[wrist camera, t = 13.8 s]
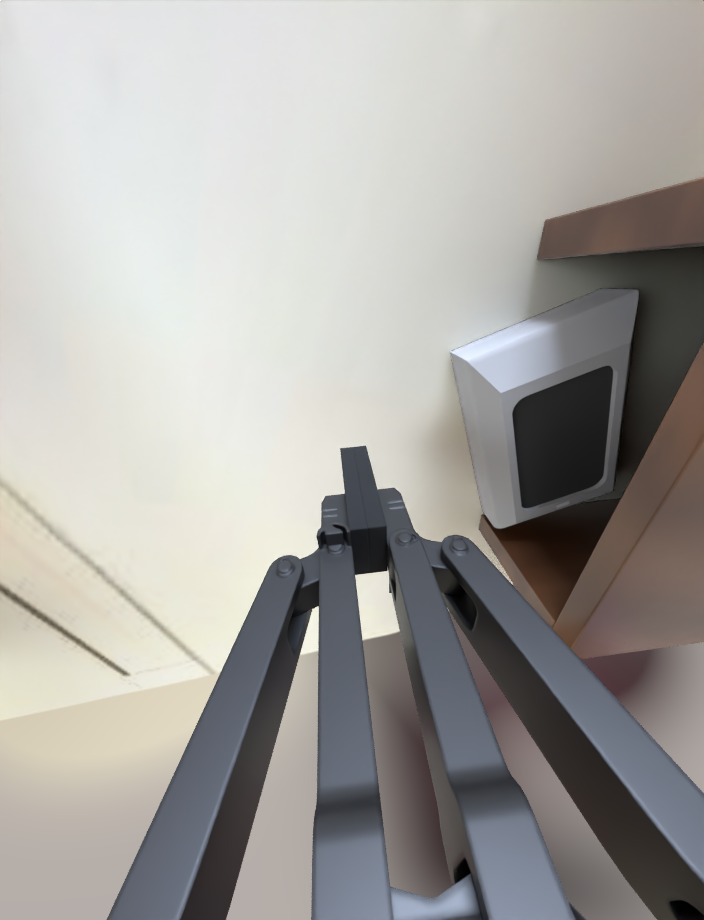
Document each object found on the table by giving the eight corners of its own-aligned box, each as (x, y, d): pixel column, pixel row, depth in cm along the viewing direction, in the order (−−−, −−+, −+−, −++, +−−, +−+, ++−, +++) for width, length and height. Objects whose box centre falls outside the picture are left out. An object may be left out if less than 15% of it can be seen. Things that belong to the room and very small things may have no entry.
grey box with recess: (660, 290, 15) (626, 500, 22) (601, 288, 18) (589, 473, 26) (475, 365, 16) (503, 540, 24) (450, 351, 19) (482, 510, 27)
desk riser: (544, 219, 16) (904, 121, 6) (803, 199, 16) (1514, 78, 7) (478, 529, 28) (562, 662, 18) (628, 511, 29) (789, 630, 19)
